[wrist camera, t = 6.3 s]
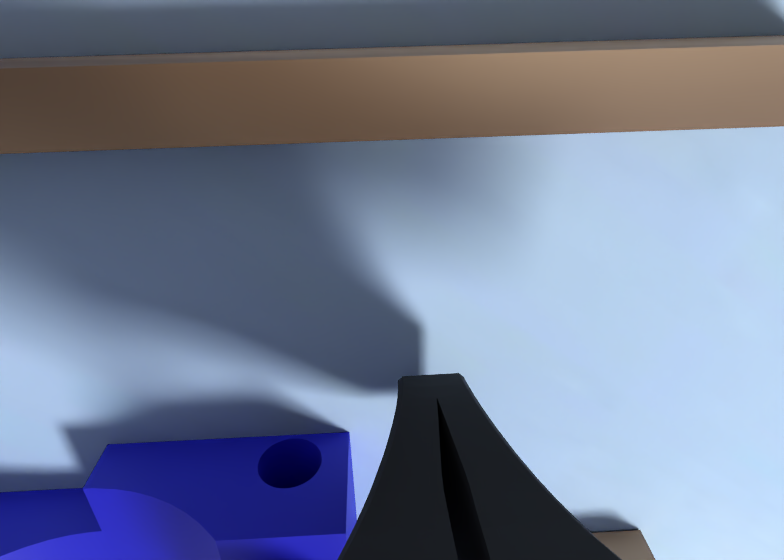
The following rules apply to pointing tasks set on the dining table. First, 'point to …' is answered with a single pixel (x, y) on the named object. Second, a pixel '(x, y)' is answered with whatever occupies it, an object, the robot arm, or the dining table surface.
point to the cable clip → (194, 503)
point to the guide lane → (392, 100)
